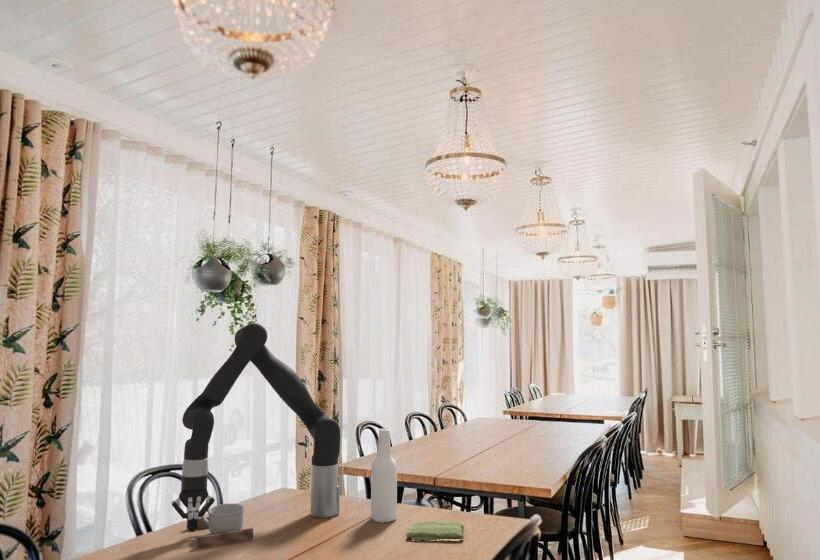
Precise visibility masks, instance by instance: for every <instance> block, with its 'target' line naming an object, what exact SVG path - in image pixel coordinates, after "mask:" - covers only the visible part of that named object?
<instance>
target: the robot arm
mask: <svg viewBox="0 0 820 560" xmlns="http://www.w3.org/2000/svg"><path fill="white" fill-rule="evenodd" d="M267 340H268V331H267V329H266V328H265V326H264V325H262V324H260V323H257V322H256V323H255V322H254V323H249V324H246V325H245V326H243V327H241V328H240V329H238V330H237V331H236V332H235V335H234V343H235V348H234V350H233V351H232V353H231V354H230V356H229V357H228V358H227V359H226V361H224V363H223V364H222V365H221V366H220V367H219V369H218V370H217V371H216V372H215V373H214V375H213V376H212V377H211V379H210V380H209V382H208V384H207V385H206V386H205V388H204V389H203V391H202V392H201V394H199V395H198V396H197V397H196V398H195V399H194V400H193V401H192V403H190V404H189V405H188V406H187V408H186V409H185V411H184V413H183V415H182V424H183V426H184V427H185V428H186V429H188V430H192V431H191V436H190V438H189V439H187V440H186V441H185V444H184V448H183V449H184V450H183V452H184V453H183V463H182V467H181V468H182V469H181V470H182V471H181V485H180V486H181V487H180V493H179V495H178V498H176V499H175V500H173V501H171V506H172V507H173V508H174V510H175V511H176V512H177V514H178V515H179V516H180V517H181V518H182V519H186V529H187V531H188V532H189V533H195V531H196V530H198V529H197V521H198V518H201V516H205V514H206V513H208V512H207V510H208V509H210V508H212V505H213V504H214V503H215V498H214V497H213V496H210V495H209V491H208V475H209V459H208V457H209V444H210V442H211V441H210V440H211V437H212V434H213V430H214V426H215V417H214V414H213V412H212V411H211V410H212V409H214V408H216V407H218V406H220V405H221V404H223V402H224V400H225V399H226V397H227V396H228V394H229V393H230V391H231V389H232V388H233V387H234V384H235V383H236V381H238V379H239V377H240V375H241V374H242V372H243V371H244V370H245V369H246V367H247V365H248V364H249V363H250V362H251V363H252V364H253V366H254V367H256V369H257V370H258V371H259V373H260V374H261V375H262V376H263V378H264V379H265V380H266V381H267V383H268V384H269V385H270V386H271V388H272V390H274V391H275V393H276V394H277V396H278V397H279V398H281V400H282V401H283V402H284V403H285V404H286V405H287V407H289V409H291V411H292V412H293V413H294V414H295V415H297V417H299V419H300V420H301V422H302V423H303V425H304V426H305V428H306V430H307V431H308V432H309V434H310V436H311V437H312V438H313V440H314V444H313V445H314V446H313V454H312V455H311V469H310V470H311V474H310V475H311V479H310V480H311V482H310V483H311V484H310V516H312V517H314V518H320V519H322V518H323V519H325V518H330V517H334V516H337V515H340V494H341V493H340V487H341V486H340V485H339V484H338V478H339V477H338V475H339V473H338V472H339V471H338V469H339V462H338V461H339V456H340V451H341V426H340V425H339V423H338V422H337V421H336V420H335V419H333V418H331V417H329V416H328V415H326V413H325V412H323V411H322V409H320V407H319V406H318V405H317V404H316V402H315V401H314V399H313V398H312V396H311V394H310V392H309V390H308V388H307V387H306V384H304V382H303V380H302V379H301V378H300V377H299V376H298V374H297V373H296V372H295V371H294V369H292V368H291V367H290V366H288V364H286V363H284V362H283V361H282V360H280V359H279V358H278V357H276V356H274V354H273V353H272V352H271V351H270V350H269V348H268V347H267V345H266V343H267ZM204 502H205V504H204ZM181 503H182V504H183V505H184V507H185V508H186V512H184V510H183V509H182V508H181V507H180V506H182V505H181ZM202 504H203V506H202ZM201 506H202V507H201Z"/></svg>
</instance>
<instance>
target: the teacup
mask: <svg viewBox="0 0 820 560" xmlns="http://www.w3.org/2000/svg"><path fill="white" fill-rule="evenodd" d="M244 512H245V507H244V505H243V504H240V503H239V504H238V503H221V504H217V505H214V506H211V507H210V508H209V509H208V510H207V512H206V513H207V514H208V517H209V520H207V519H206V518H205V517H206V516H205V515H204V516H201V517H200V518H201V520H202V521H203V522H204V523H206V524H207V525H208V530H209V532H210V533H211V534H217V533H224V532H230V531H236V530H242V528H243V525H244V517H245V516H244Z"/></svg>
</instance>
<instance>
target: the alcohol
mask: <svg viewBox="0 0 820 560" xmlns="http://www.w3.org/2000/svg"><path fill="white" fill-rule="evenodd" d="M377 441H378V442H377V443H378V444H377V445H378V446H377V455H376V457H375V458H374V459H373V461H372V464H371V469H370V470H371V472H370V473H371V474H370V475H371V476H370V477H371V479H370V480H371V482H370V484H371V485H370V489H371V490H370V519H372V521H373V522H375V523H379V522H380V523H382V524H385V523H386V522H387V523H392V522H395V520H396V519H397V517H398V515H397V514H398V513H397V511H398V506H397V505H398V465H397V462H396V460H395V459H394V458H393V456H392V448H391V447H392V446H391V429H390V428H386V427H385V428H379V429H378V440H377ZM391 521H392V522H391ZM384 522H385V523H384ZM387 523H386V524H387Z"/></svg>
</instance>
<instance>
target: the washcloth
mask: <svg viewBox="0 0 820 560" xmlns="http://www.w3.org/2000/svg"><path fill="white" fill-rule="evenodd" d="M464 529H465V527H464V524H463V522H461V521H459V520H454V521H453V520H452V521H444V520H442V521H439V520H438V521H429V520H428V521H425V520H424V521H415V522H412V523H411V524H410V525H409V527H408V529H407V531H406V538H409V539H410V540H437V539H439V540H440V539H463V540H464Z"/></svg>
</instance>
